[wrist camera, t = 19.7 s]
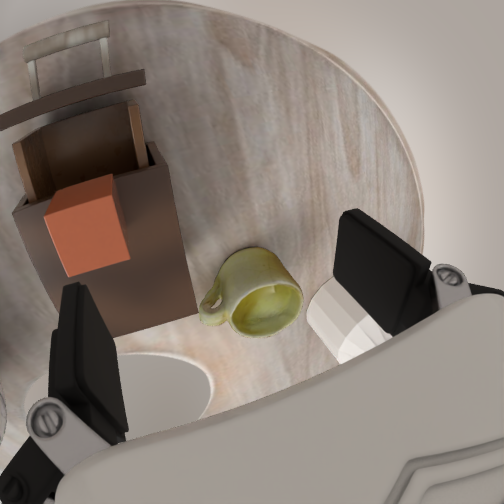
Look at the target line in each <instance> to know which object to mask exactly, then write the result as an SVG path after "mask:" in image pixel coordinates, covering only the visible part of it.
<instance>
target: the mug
mask: <svg viewBox="0 0 504 504" xmlns="http://www.w3.org/2000/svg"><path fill="white" fill-rule="evenodd" d="M218 299H222V302H221V304H220V305H219V306H218V307H216V308H214V309H212V308H211V307H212V306H213V305H214V304H215V303H216V301H217V300H218ZM303 302H304V298H303V294H302V290H301V288H300V286H299V285H298V284H297V282H296V281H295V280H294V279H293V277H292V276H291V275H290V273H289V272H288V271H287V270H286V269H285V267H284V266H283V264H282V263H281V261H280V260H279V259H278V257H277V256H276V255H275V254H274V253H272V252H270V251H268V250H266V249H264V248H260V247H253V248H247V249H243V250H241V251H238V252H236V253H235V254H233V255H231V256H230V257H229V258H228V259H227V260H226V262H225V263H224V264H223V265H222V267H221V269H220V271H219V273H218V275H217V277H216V279H215V281H214V285H213V287H212V289H211V290H210V291H209V292H208V293H207V294H206V296H205V298H204V299H203V300H202V302H201V304H200V307H199V318H200V321H201V322H202V323H203V324H205V325H209V326H218V325H221V324H222V323H224V322H225V321H228V322H229V324H230V325H231V327H232V329H233V330H234V331H235V332H236V333H238V334H239V335H241V336H243V337H247V338H265V337H270V336H272V335H275V334H278V333H279V332H280V331H281V330H283V329H284V328H286V327H287V326H289V325H291V324H292V323H293V322H294V321H295V320H296V319H297V318H298V316H299V314H300V312H301V309H302V307H303Z"/></svg>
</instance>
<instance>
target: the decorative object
mask: <svg viewBox="0 0 504 504" xmlns="http://www.w3.org/2000/svg"><path fill="white" fill-rule="evenodd" d="M307 322H308V323H309V325H310V326H311V327H312V329H313V330H314V331H315V332H316V334H317V335H318V336H319V337H320V339H321V340H322V341H323V343H324V344H325V345H326V346H327V348H328V349H329V350H330V351H331V353H332V354H333V355H334V357H335V358H336V359H337V360H338V362H339V363H340V364H342V363H344V362H346V361H348V360H350V359H352V358H354V357H356V356H358V355H360V354H362V353H364V352H366V351H368V350H370V349H372V348H374V347H376V346H378V345H380V344H381V343H383V342H385V341H387V340H389V339H391V338H392V336H391V335H390V334H388V333H386V332H385V331H384V330H383V329H382V328H381V327H380V326H379V325H378V324H377V323H376V322H375V321H374V320H373V318H372V317H371V316H370V315H369V314H368V313H367V312H366V311H365V310H364V309H363V308H362V307H361V306H360V305H359V304H358V303H357V301H356V300H355V299H354V298H353V297H352V296H351V295H350V294H349V293H348V292H347V291H346V290H345V289H344V288H343V287H342V286H341V285H340V284H339V283H338V282H337V281H336V279H335V278H334V276H333V277H332V278H331V279H330V280H328V281H327V282H326V283H325V284H323V285H322V286H321V287H320V289H319V290H318V291H317V293H316V294H315V295H314V296H313V298H312V300H311V302H310V304H309V307H308V309H307Z"/></svg>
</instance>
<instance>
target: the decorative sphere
mask: <svg viewBox="0 0 504 504" xmlns="http://www.w3.org/2000/svg"><path fill="white" fill-rule="evenodd" d="M5 429H6V402H5V396H4V392H3V388H2V385H1V382H0V445H1V442H2V440H3V437H4V433H5Z"/></svg>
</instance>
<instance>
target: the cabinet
mask: <svg viewBox="0 0 504 504" xmlns="http://www.w3.org/2000/svg"><path fill="white" fill-rule="evenodd" d="M145 147H146V152H147V158H148V163H149V167H146V168H142V169H138V170H134V171H130V172H127V173H123V174H119V175H116V176H114V180H115V184H116V188H117V192H118V196H119V200H120V204H121V208H122V212H123V215H124V219H125V223H126V226H127V232H128V241H129V250H130V257H131V258H130V259H129V260H125V261H122V262H119V263H115V264H112V265H108V266H105V267H102V268H98V269H95V270H92V271H88V272H85V273H82V274H78V275H75V276H72V277H68V276H67V273H66V271H65V269H64V267H63V264H62V262H61V260H60V257H59V255H58V253H57V250H56V248H55V245H54V243H53V240H52V238H51V235H50V233H49V230H48V228H47V225H46V222H45V219H44V215H45V212H46V210H47V208H48V206H49V204H50V202H51V200H52V198H53V196H54V195H52V196H49V197H46V198H43V199H40V200H38V201H35V202H32V203H30V204H29V201H28V198H27V195H26V193H25V195H24V196H23V198H22V199H21V200H20V202H19V203H18V205H17V206H16V208H15V209H14V211H13V212H12V215H13V218H14V221H15V223H16V226H17V228H18V231H19V233H20V236H21V238H22V240H23V243H24V245H25V247H26V250H27V252H28V254H29V256H30V258H31V261H32V263H33V265H34V267H35V269H36V271H37V273H38V275H39V277H40V279H41V281H42V283H43V285H44V287H45V289H46V291H47V293H48V295H49V297H50V299H51V300H52V302H53V304H54V306H55V308H56V309H57V311H58V313H60V305H61V297H62V290H63V286H65V285H68V284H72V283H75V282H80V283H81V285H84V284H86V285H87V287H88V289H89V291H90V293H91V295H92V298H93V300H94V302H95V304H96V306H97V308H98V310H99V312H100V314H101V316H102V318H103V320H104V322H105V324H106V326H107V328H108V330H109V332H110V334H111V336H112V338H115V337H119V336H122V335H126V334H130V333H133V332H137V331H140V330H144V329H147V328H150V327H154V326H157V325H161V324H164V323H167V322H171V321H174V320H177V319H181V318H184V317H187V316H190V315H194V314H197V313H199V312H198V308H197V304H196V300H195V296H194V291H193V287H192V283H191V278H190V274H189V270H188V265H187V261H186V256H185V252H184V247H183V242H182V237H181V233H180V228H179V223H178V218H177V212H176V207H175V202H174V197H173V191H172V186H171V180H170V175H169V169H168V165H167V163H166V162H165V160H164V158H163V156H162V155H161V153H160V151H159V150H158V148H157V146H156V144H155V143H154V141H153V142H149V143H145Z"/></svg>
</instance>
